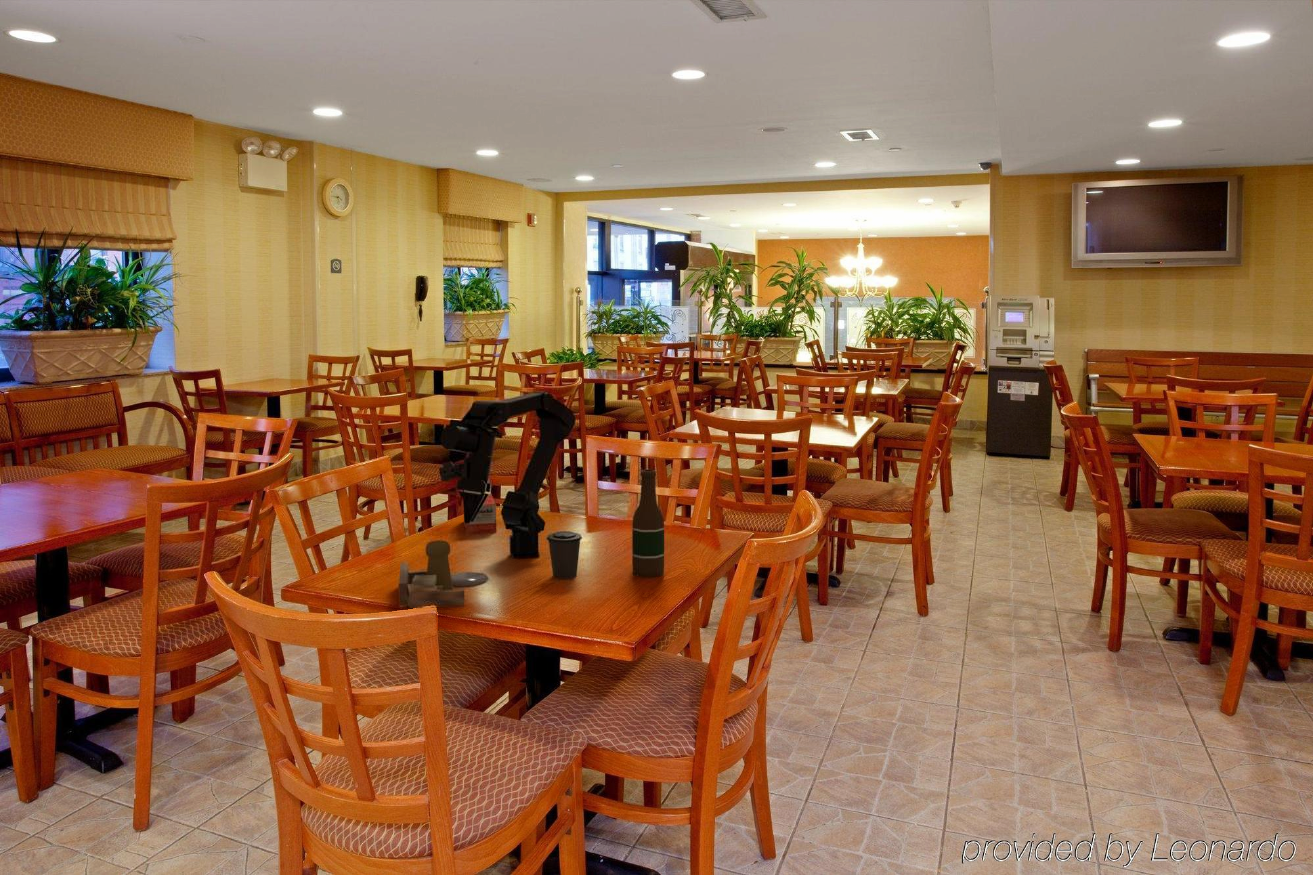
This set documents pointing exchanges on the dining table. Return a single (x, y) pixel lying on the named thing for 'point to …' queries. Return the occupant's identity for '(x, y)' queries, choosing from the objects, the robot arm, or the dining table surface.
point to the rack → (425, 590)
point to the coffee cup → (564, 553)
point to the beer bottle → (648, 531)
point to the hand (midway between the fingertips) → (468, 522)
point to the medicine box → (484, 518)
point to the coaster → (468, 579)
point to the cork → (439, 563)
